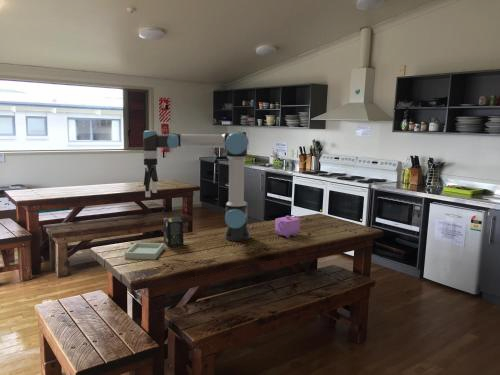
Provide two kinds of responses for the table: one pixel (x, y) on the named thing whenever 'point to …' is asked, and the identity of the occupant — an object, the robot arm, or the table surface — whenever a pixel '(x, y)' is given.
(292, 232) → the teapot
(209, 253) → the table surface
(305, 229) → the table surface
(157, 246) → the tray
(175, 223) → the tampon box
